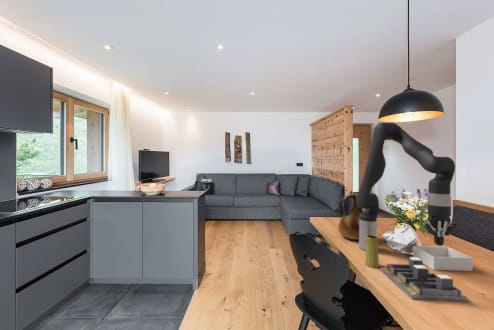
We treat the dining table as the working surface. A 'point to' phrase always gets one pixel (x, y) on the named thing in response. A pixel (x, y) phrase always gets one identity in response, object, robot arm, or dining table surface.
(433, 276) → the panel
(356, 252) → the dining table surface
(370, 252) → the vase
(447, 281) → the breaker near
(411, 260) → the breaker far
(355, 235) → the ceramic pitcher
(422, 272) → the block
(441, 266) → the frame
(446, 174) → the robot arm
